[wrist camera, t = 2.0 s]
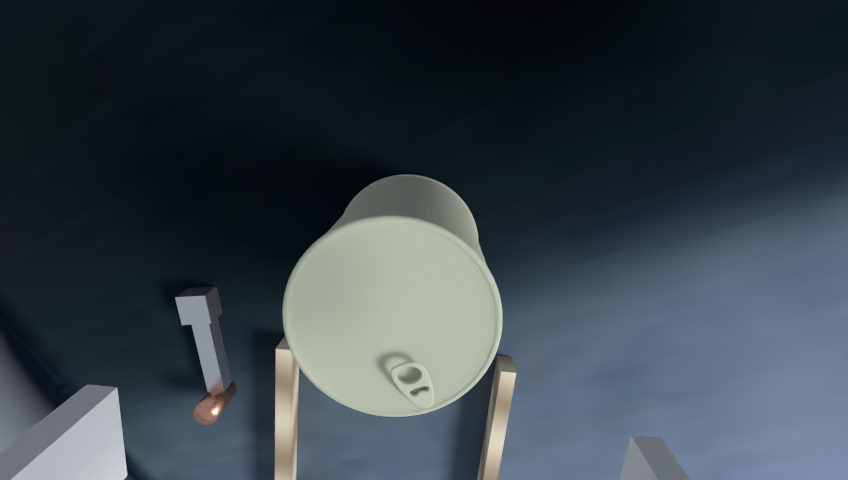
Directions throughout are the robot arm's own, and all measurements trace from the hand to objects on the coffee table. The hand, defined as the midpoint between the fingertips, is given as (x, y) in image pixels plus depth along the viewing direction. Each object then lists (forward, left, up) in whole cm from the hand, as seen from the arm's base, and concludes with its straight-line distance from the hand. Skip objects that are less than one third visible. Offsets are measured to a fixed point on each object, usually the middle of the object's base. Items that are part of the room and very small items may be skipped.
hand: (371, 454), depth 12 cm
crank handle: (+9, -13, -19) cm, 24 cm away
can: (0, 0, -19) cm, 19 cm away
